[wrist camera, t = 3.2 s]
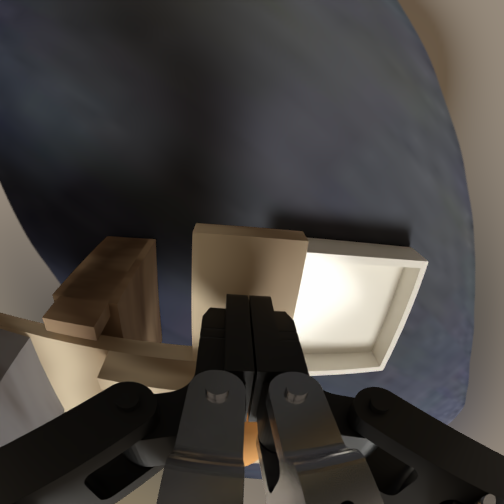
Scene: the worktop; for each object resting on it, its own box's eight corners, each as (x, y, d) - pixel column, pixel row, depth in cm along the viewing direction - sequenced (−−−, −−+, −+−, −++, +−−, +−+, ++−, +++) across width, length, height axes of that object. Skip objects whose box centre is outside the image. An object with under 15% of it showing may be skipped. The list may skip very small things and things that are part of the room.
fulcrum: (121, 334, 24) (84, 425, 15) (107, 236, 21) (34, 315, 11) (162, 339, 25) (137, 438, 15) (155, 239, 21) (103, 329, 11)
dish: (279, 235, 21) (285, 250, 19) (411, 247, 22) (428, 261, 20) (260, 354, 26) (263, 376, 23) (372, 351, 27) (382, 370, 24)
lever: (10, 380, 15) (-26, 447, 8) (-49, 214, 9) (-130, 269, 3) (276, 426, 16) (290, 522, 10) (327, 233, 11) (420, 360, 5)
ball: (198, 386, 13) (193, 446, 10) (271, 388, 13) (279, 448, 10) (200, 423, 14) (197, 475, 11) (262, 425, 15) (267, 476, 11)
